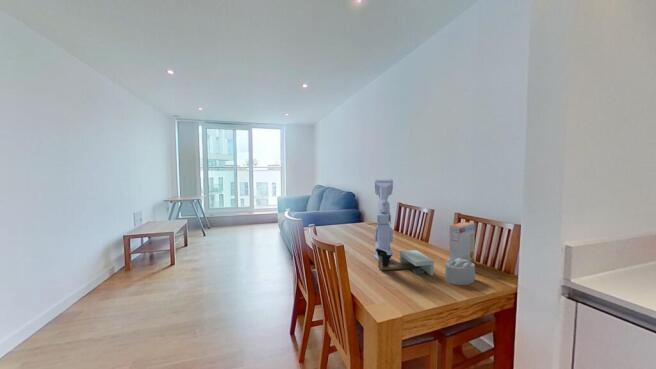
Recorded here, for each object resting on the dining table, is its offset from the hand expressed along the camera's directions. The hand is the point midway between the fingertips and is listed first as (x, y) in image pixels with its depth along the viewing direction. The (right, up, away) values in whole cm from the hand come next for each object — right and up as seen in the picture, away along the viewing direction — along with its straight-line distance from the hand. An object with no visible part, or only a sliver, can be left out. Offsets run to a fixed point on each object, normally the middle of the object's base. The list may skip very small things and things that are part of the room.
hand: (383, 264), depth 128 cm
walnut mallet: (+8, -2, +2) cm, 8 cm away
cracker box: (+42, -2, +8) cm, 43 cm away
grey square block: (+16, -3, -3) cm, 16 cm away
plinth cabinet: (+16, -2, 0) cm, 16 cm away
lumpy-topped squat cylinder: (+31, -3, -12) cm, 33 cm away
